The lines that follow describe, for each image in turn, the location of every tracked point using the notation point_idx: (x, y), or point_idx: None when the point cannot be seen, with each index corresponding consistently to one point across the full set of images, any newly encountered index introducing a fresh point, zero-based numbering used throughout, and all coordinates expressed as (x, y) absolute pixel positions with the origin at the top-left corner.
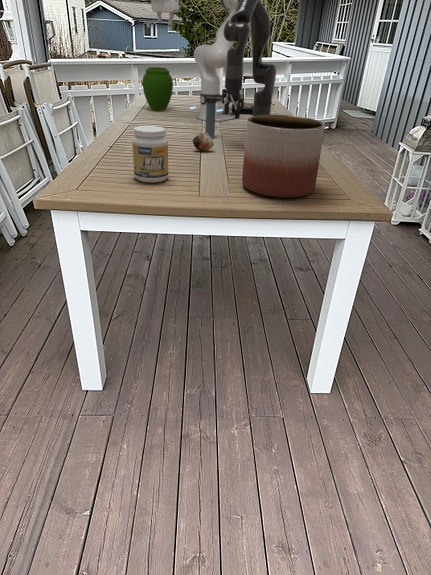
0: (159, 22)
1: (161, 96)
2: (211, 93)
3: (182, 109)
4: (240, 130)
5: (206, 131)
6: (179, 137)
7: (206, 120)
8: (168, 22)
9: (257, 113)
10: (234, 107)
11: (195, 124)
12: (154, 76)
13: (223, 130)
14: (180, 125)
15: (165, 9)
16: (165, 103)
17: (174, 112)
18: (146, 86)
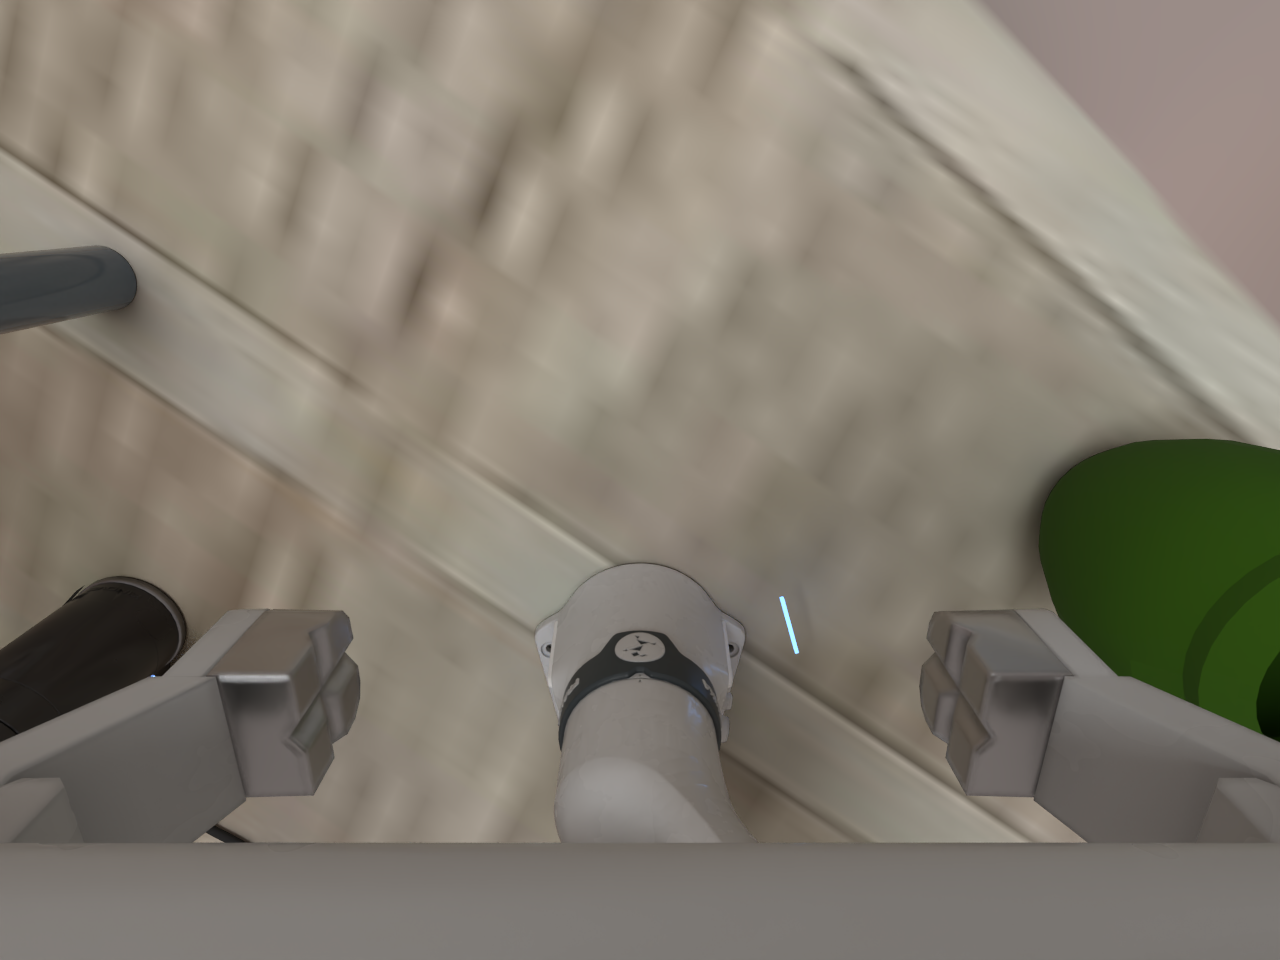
0: (963, 611)
1: (1063, 520)
2: (572, 715)
3: None
4: (252, 585)
5: (63, 248)
6: (155, 70)
7: (9, 253)
8: (314, 611)
9: (6, 649)
10: None
11: (519, 445)
12: (1229, 552)
13: (283, 493)
14: (529, 327)
15: (107, 954)
16: (1039, 540)
17: (961, 562)
18: (1238, 454)
